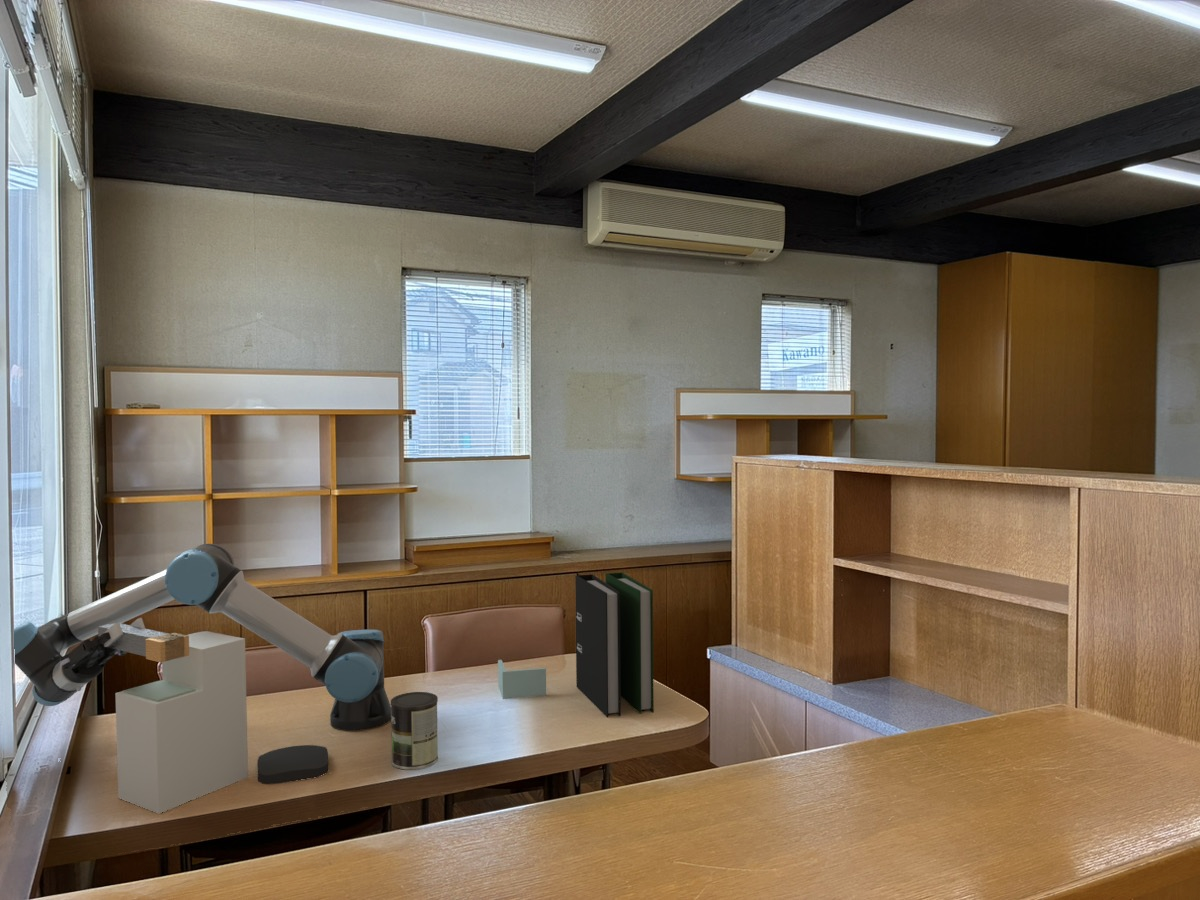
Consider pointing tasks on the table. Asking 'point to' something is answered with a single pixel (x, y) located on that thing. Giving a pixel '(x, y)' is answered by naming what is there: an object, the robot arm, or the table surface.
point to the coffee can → (414, 730)
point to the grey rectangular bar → (149, 643)
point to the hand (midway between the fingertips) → (130, 626)
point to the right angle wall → (521, 682)
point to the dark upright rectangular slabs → (614, 642)
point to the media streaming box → (292, 764)
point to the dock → (185, 726)
